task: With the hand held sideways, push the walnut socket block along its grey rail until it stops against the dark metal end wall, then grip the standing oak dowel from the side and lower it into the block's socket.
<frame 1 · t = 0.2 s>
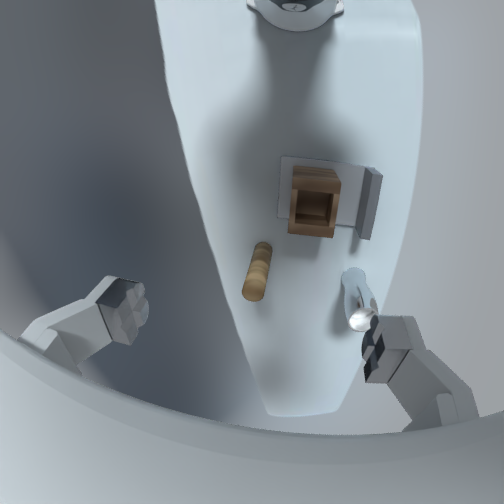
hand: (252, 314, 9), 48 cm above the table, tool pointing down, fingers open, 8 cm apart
socket block: (312, 199, 49), point 6 cm above the table, slide at 6.0 cm
rail base: (325, 191, 54), on the table
dowel: (263, 249, 63), on the table
beer glass: (353, 277, 63), on the table
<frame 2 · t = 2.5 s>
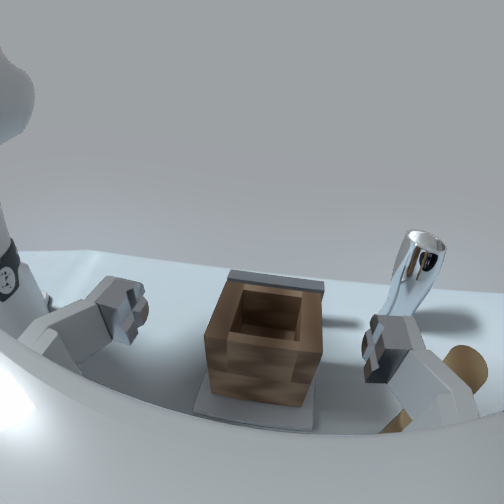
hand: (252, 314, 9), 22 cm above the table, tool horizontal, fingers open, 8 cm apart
socket block: (264, 347, 28), point 6 cm above the table, slide at 6.0 cm
rail base: (264, 359, 33), on the table
dowel: (383, 450, 21), on the table
beer glass: (393, 322, 39), on the table
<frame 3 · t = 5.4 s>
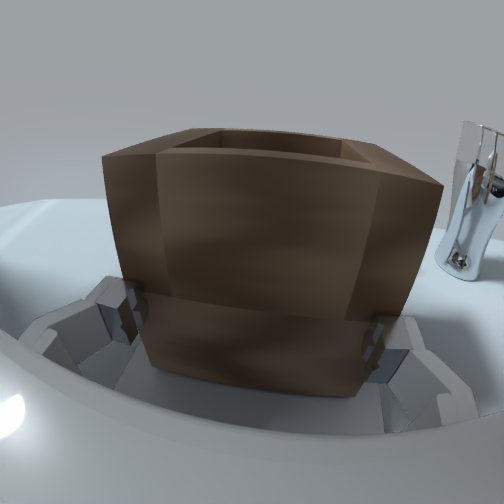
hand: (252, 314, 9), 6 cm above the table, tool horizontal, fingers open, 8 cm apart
socket block: (269, 251, 12), point 6 cm above the table, slide at 5.3 cm, touching gripper
rail base: (266, 315, 18), on the table
beer glass: (455, 267, 24), on the table
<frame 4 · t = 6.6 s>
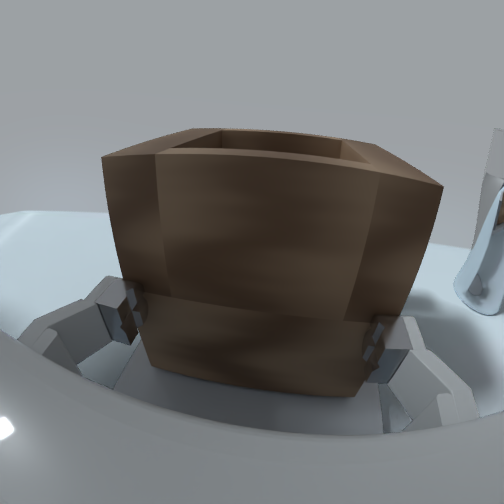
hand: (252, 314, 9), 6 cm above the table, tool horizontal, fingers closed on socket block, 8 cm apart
socket block: (268, 251, 12), point 6 cm above the table, slide at 0.0 cm, touching gripper
rail base: (252, 383, 13), on the table
beer glass: (476, 296, 19), on the table
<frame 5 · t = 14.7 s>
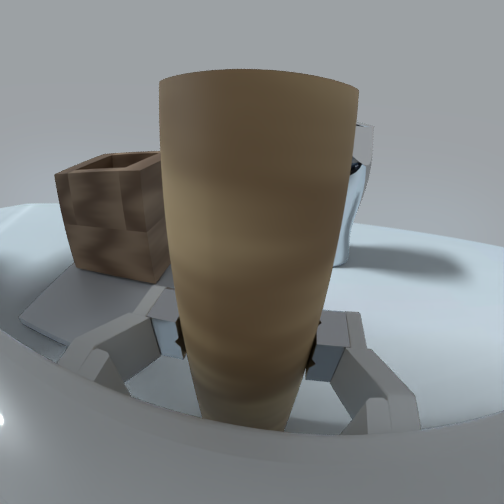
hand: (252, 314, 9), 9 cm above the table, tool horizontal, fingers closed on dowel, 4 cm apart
socket block: (123, 210, 25), point 6 cm above the table, slide at 0.0 cm
rail base: (118, 278, 25), on the table
dowel: (244, 435, 13), on the table, touching gripper
beer glass: (322, 254, 31), on the table
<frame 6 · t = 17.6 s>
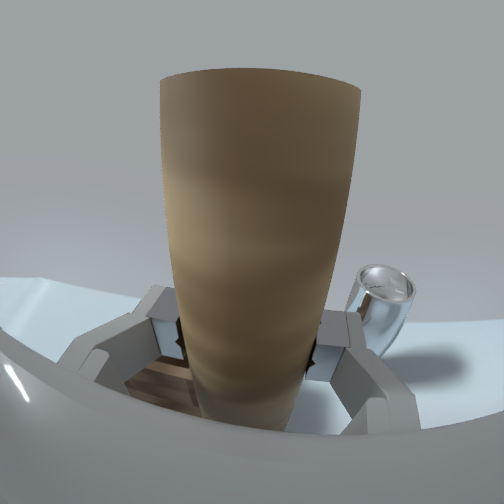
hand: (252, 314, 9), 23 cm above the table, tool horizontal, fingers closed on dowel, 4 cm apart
socket block: (177, 368, 26), point 6 cm above the table, slide at 0.0 cm
dowel: (244, 435, 13), point 14 cm above the table, touching gripper
beer glass: (349, 372, 32), on the table
when the fingers open (15 cm above the table, at t = 21.0 s): dowel stays where it is, resting on socket block.
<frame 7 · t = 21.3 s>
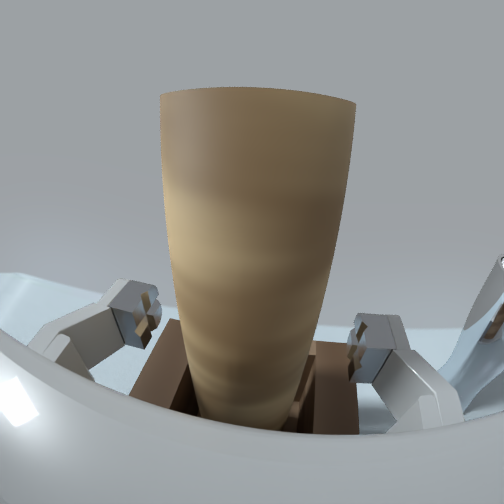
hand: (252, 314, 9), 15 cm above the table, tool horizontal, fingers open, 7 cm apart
socket block: (243, 436, 13), point 6 cm above the table, slide at 0.0 cm, touching dowel
dowel: (243, 437, 13), point 6 cm above the table, touching socket block
beer glass: (446, 395, 20), on the table
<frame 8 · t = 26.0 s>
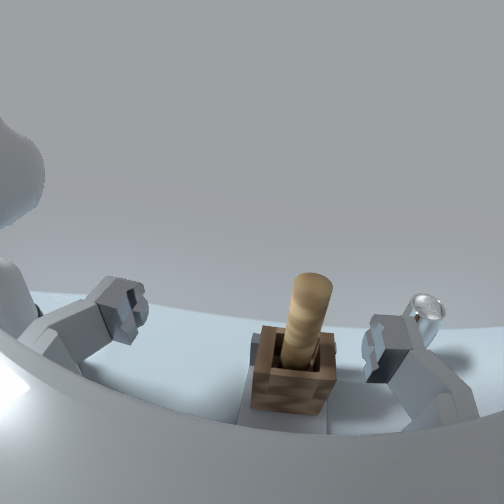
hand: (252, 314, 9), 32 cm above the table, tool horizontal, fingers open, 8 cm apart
socket block: (291, 373, 36), point 6 cm above the table, slide at 0.0 cm, touching dowel
rail base: (283, 410, 36), on the table
dowel: (291, 373, 35), point 6 cm above the table, touching socket block
beer glass: (394, 367, 42), on the table
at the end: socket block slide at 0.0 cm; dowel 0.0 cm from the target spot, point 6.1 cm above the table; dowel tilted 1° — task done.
